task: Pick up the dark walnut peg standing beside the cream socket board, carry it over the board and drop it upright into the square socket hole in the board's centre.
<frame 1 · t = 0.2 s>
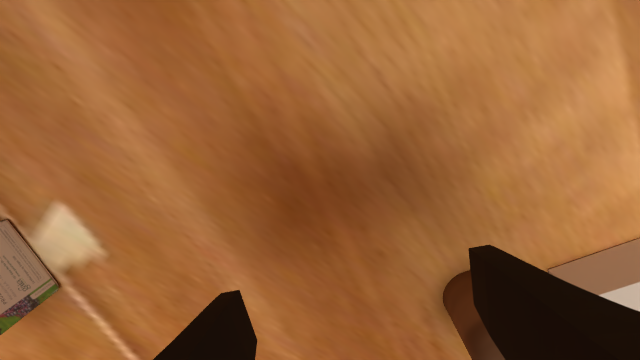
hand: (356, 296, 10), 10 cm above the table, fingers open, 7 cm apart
peg: (472, 295, 22), on the table
syrup box: (4, 263, 22), on the table
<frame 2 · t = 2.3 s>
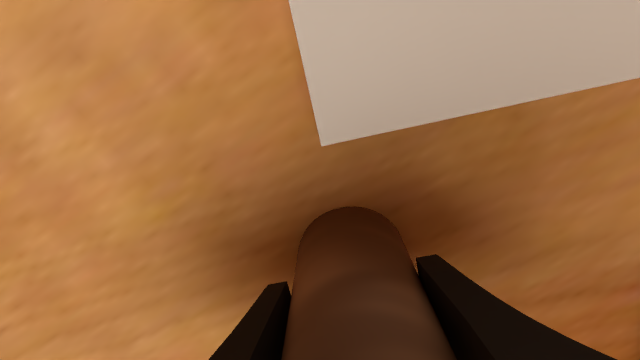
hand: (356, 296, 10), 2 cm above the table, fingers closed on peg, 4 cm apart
peg: (350, 255, 12), on the table, touching gripper
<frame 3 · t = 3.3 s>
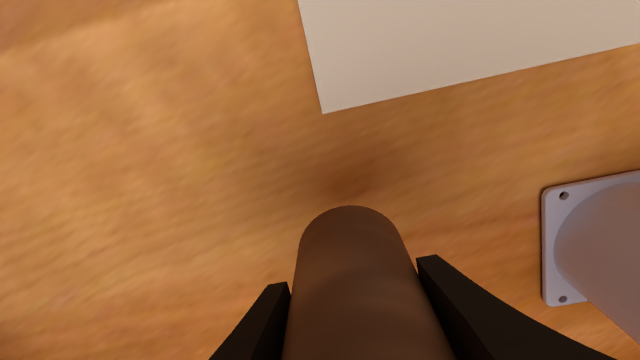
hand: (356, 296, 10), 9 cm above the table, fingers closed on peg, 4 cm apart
peg: (350, 253, 12), point 7 cm above the table, touching gripper
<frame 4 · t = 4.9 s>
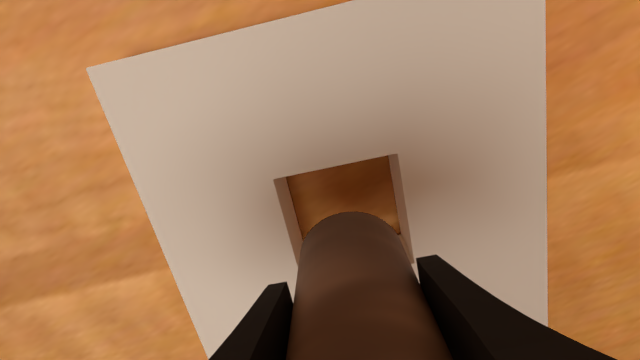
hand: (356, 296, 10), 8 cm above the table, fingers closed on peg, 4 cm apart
peg: (351, 258, 12), point 6 cm above the table, touching gripper
socket board: (343, 199, 18), on the table
when the fingers open (4 cm above the table, at t = 6.1 s): peg drops 2 cm, resting in socket board.
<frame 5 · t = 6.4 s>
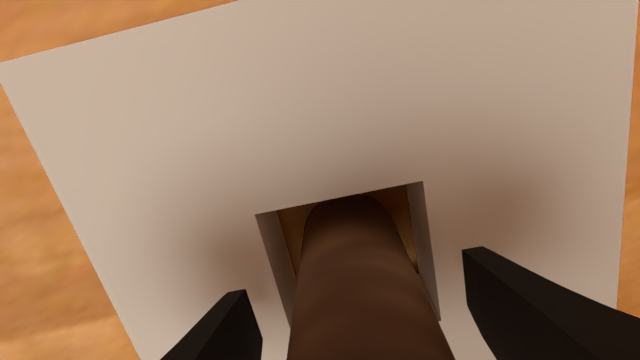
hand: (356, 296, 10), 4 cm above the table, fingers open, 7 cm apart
peg: (349, 235, 14), resting in socket board
socket board: (347, 231, 14), on the table
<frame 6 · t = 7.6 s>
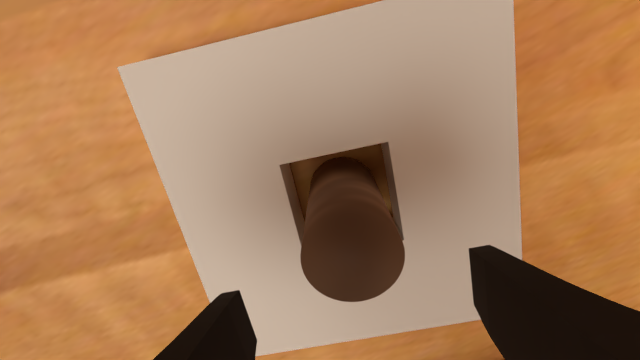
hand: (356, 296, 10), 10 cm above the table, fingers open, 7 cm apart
peg: (342, 188, 20), resting in socket board
socket board: (341, 185, 20), on the table
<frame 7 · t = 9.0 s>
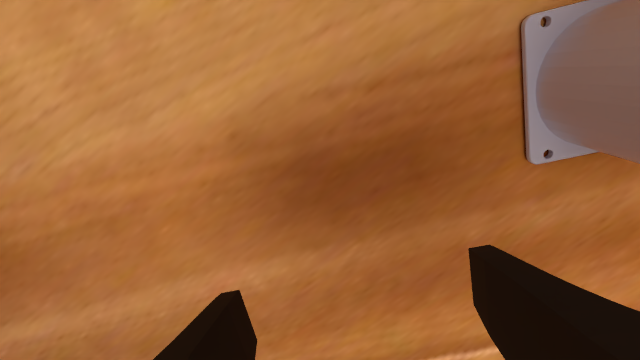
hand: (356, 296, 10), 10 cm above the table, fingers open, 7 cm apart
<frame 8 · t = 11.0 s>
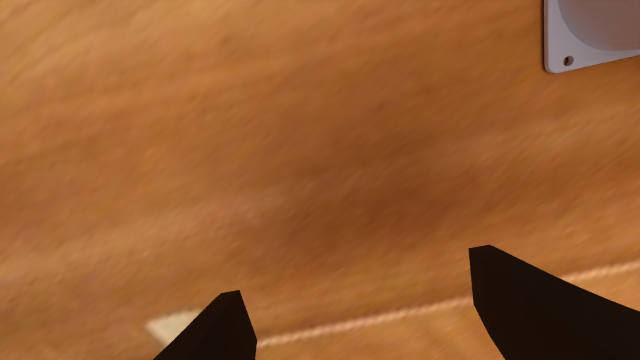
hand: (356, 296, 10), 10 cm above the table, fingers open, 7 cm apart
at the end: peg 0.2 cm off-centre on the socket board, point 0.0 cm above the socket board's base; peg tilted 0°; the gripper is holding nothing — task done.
